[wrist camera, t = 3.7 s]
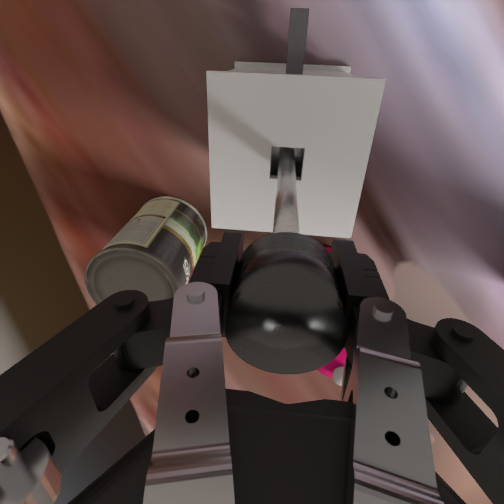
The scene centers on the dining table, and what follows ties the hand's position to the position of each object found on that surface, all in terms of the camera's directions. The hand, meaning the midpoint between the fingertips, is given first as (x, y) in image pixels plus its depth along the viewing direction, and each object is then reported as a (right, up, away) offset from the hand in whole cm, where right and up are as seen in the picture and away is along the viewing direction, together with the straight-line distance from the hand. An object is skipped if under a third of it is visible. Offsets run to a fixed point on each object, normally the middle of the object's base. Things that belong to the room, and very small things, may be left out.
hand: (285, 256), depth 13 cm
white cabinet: (+3, +17, +24) cm, 29 cm away
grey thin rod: (+2, +9, +15) cm, 17 cm away
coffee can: (-13, +4, +34) cm, 36 cm away
